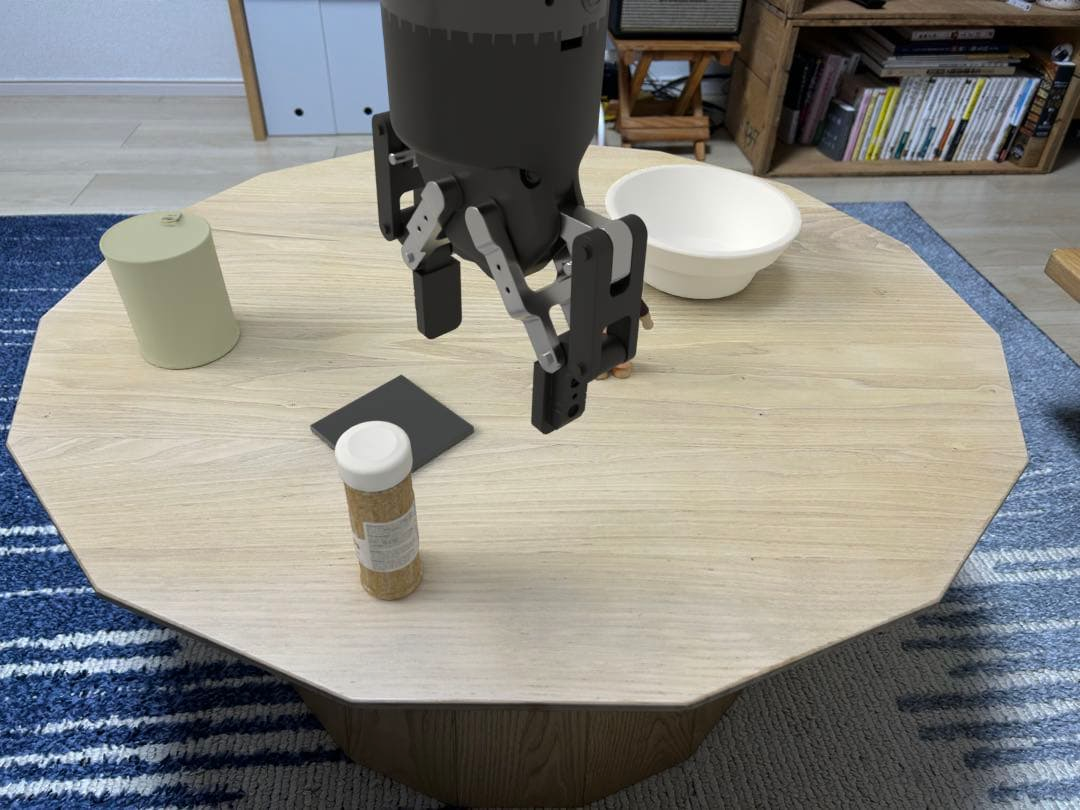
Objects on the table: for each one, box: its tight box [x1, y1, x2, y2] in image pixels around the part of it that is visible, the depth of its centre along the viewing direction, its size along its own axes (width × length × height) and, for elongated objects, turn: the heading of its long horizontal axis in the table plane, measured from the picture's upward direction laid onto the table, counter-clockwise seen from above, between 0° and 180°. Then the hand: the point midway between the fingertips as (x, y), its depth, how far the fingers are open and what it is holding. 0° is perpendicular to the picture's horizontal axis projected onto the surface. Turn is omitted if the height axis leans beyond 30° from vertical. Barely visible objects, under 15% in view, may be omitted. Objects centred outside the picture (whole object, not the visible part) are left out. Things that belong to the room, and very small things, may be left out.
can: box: [98, 210, 241, 370], centre depth 71 cm, size 9×9×12 cm
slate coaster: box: [309, 374, 475, 474], centre depth 66 cm, size 10×10×1 cm
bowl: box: [604, 163, 803, 300], centre depth 85 cm, size 21×21×8 cm
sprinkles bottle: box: [334, 421, 424, 601], centre depth 51 cm, size 5×5×14 cm
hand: (494, 374), depth 36 cm, fingers open, 8 cm apart
